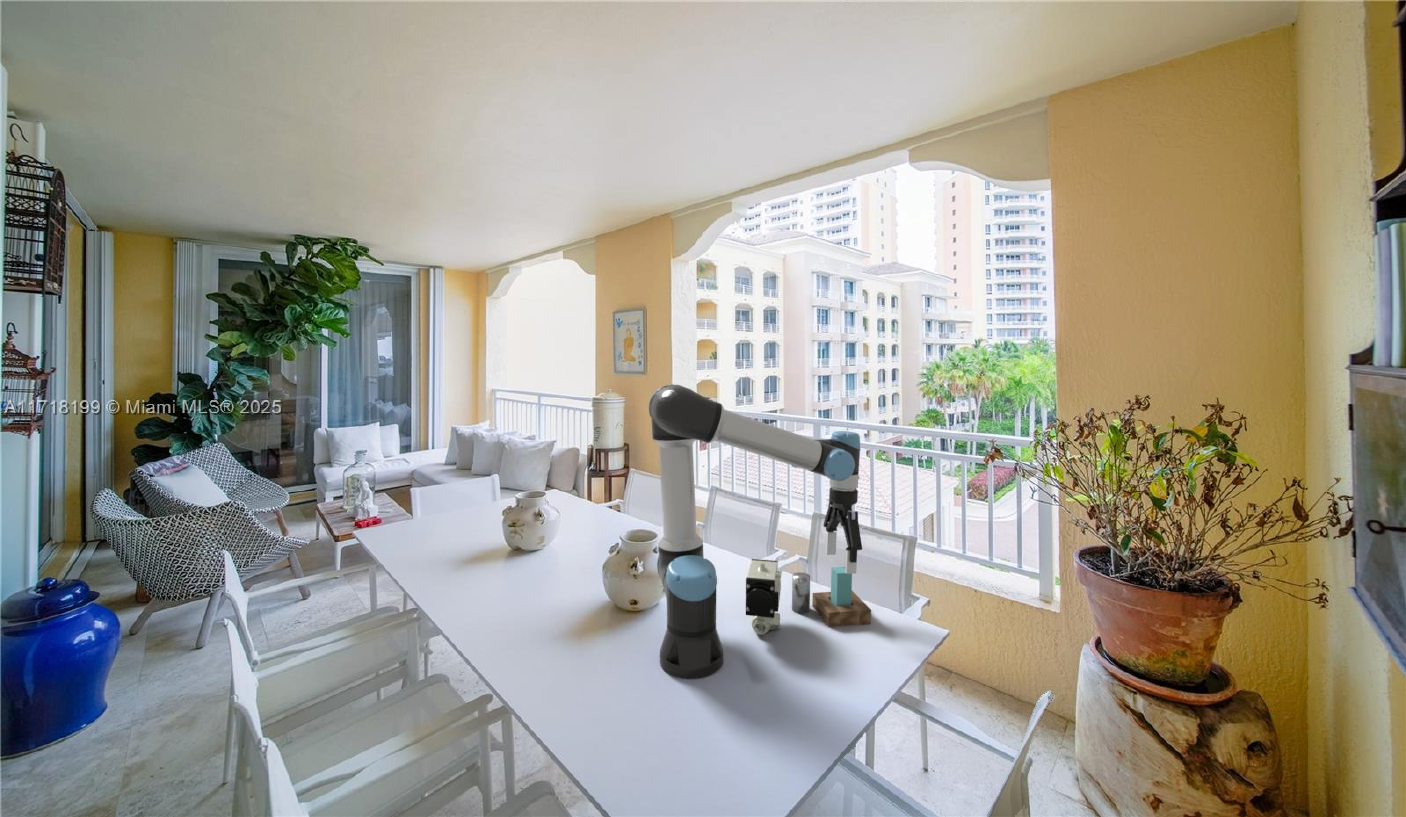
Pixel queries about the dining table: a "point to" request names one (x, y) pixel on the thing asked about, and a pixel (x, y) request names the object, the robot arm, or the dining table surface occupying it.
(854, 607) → the bore block
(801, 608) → the round bit
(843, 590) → the square bit
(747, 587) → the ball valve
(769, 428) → the robot arm
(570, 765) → the dining table surface
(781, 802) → the dining table surface
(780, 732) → the dining table surface
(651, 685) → the dining table surface
